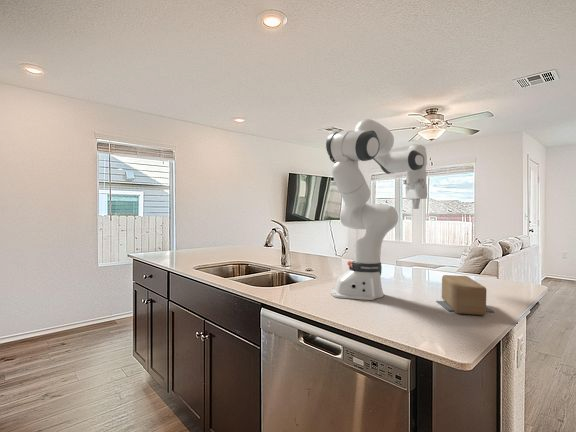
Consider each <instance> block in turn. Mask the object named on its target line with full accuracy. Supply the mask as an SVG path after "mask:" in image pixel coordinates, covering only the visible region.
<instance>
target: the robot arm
mask: <svg viewBox="0 0 576 432" xmlns="http://www.w3.org/2000/svg"><path fill="white" fill-rule="evenodd" d="M394 141H395V137H394V134H393V133H392V132H391V131H390V129H388V128H387V127H385V126H384V125H383V124H381V123H380V122H378V121H376V120H373V119H371V118H365V119H362V120H360V121H359V122H358V123H357V124H356V126H355V127H354V130H345V131H340V130H339V131H335V132H333V133H330V134H329V135H328V136H327V139H326V142H325V149H326V153H327V154H328V157H329V160H330V161H331V162H332V163H334V164H333V166H332V169H331V173H332V174H331V175H332V177H333V180H334V183H335V185H336V188H337V189H338V191H339V193H340V195H341V197H342V199H343V202H344V206H343V207H342V208H341V210H340V214H339V220H340V222H341V224H342V226H343V227H346V228H349V229H354V230H365V233H364V236H363V237H362V238H361V237H360V238H359V239H358V240H357V241H355V243H354V247H353V249H354V251H353V255H354V256H353V261H351V260H348V261H347V265H348V268H349V269H348V270H347V271H346V272H344V273H342V274H341V275H340V276H339V277H337V279H336V283H335V287H332V288H331V289H330V294H331V296H332V297H335V298H338V299H340V298H341V299H352V300H355V299H356V300H365V301H373V300H375V299H379V298H382V297H384V290H383V287H382V277H381V276H382V268H383V267H382V262H381V254H382V253H381V252H382V244H383V241H384V239H385V237H386V235H387V234H388V233H389V232H390V231H391V230H393V229H394V228H395V227H396V225H397V224H398V221H399V215H398V211H397V210H396V208H395V207H394V206H392V205H388V204H382V203H381V204H380V203H379V204H378V203H375V204H374V203H370V204H369V203H368V201H370V200H369V199H371V198H370V197H371V188H370V187H369V185H368V183H367V181H366V179H365V177H364V176H365V175H363V173H362V171H361V170H360V168H359V161H362V162H367V161H372V160H373V161H374V162H375V163H377V165H378V166H379V167H380V169H381V170H382V171H383V172H384V173H385V174H387V175H390V174H395V173H397V174H398V173H406V178H405V179H404V185H405V198H406V200H407V201H408V200H411V203H412V208H413V210H418V209H419V208H420V203H421V200H423V199H424V200H426V199H427V198H428V184H427V175H428V174H427V164H428V158H427V157H428V156H427V148H426V147H425V146H424V145H422V144H413V145H412V144H411V145H409V147H408V149H406V150H400V151H393V152H390V151H391V150H392V149H393V147H394V143H395V142H394Z"/></svg>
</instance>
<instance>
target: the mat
mask: <svg viewBox="0 0 576 432" xmlns="http://www.w3.org/2000/svg"><path fill="white" fill-rule="evenodd" d="M435 302H436V303H437V304H438V305H440V306H441V307H442V308H444V309H445V310H447V311H448V312H455V311H454V310H453V309H452V308H451V307H450V306H449V305H448V304H447V303H446V302H445V301H444V300H436V301H435ZM455 313H456V312H455ZM486 313H492V314H494V313H495V311H494V310H492V309H491V308H489V307H487V306H486Z"/></svg>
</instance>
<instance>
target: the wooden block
mask: <svg viewBox="0 0 576 432" xmlns="http://www.w3.org/2000/svg"><path fill="white" fill-rule="evenodd" d="M441 299H442V301H445V302H446V303H447V304H448V305H449V306H450V307H451V308H452V309H453V310H454V311H455V313H456V314H461V315H475V316H476V315H479V316H484V315H486V313H487V312H486V307H487V288H486V286H484V285H482V284H481V283H479V282H478V281H475V280H474V279H472V278H470V277H469V276H467V275H451V274H450V275H449V274H444V275H442V277H441ZM454 311H453V312H454Z"/></svg>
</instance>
